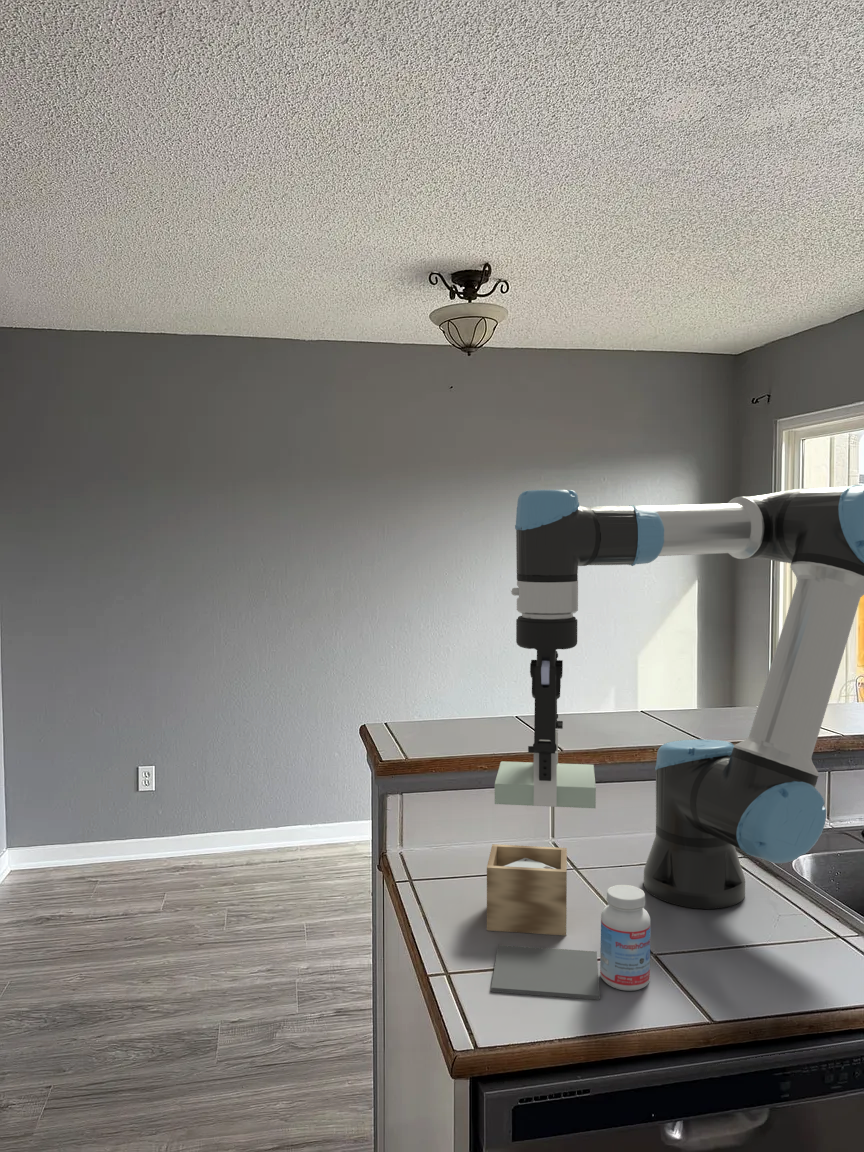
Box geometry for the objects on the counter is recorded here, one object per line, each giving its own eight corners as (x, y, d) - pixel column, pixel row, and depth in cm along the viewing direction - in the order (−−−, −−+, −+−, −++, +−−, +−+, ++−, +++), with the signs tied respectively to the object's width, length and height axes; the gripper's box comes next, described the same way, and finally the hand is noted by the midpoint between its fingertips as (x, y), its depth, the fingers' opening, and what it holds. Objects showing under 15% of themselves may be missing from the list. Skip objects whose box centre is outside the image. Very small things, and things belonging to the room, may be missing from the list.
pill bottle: (619, 997, 107) (620, 906, 106) (590, 973, 112) (591, 886, 111) (660, 986, 109) (661, 897, 108) (630, 963, 115) (631, 878, 114)
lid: (593, 783, 115) (593, 757, 115) (595, 808, 105) (595, 779, 105) (501, 780, 117) (501, 753, 117) (494, 804, 107) (494, 775, 107)
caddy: (566, 907, 131) (566, 847, 131) (566, 935, 122) (566, 871, 122) (492, 902, 133) (492, 844, 132) (486, 930, 124) (486, 867, 123)
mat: (596, 955, 117) (596, 951, 117) (599, 999, 106) (599, 995, 106) (498, 948, 119) (498, 944, 119) (491, 991, 108) (491, 987, 108)
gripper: (521, 605, 121) (521, 765, 123) (510, 625, 99) (510, 820, 100) (576, 606, 120) (576, 767, 121) (578, 626, 98) (577, 823, 99)
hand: (546, 791), depth 111 cm, fingers closed on lid, 10 cm apart
